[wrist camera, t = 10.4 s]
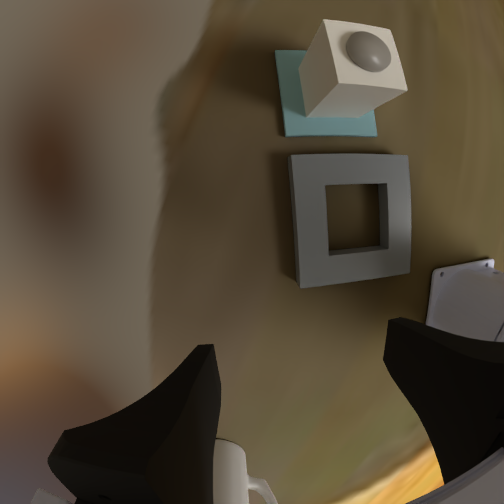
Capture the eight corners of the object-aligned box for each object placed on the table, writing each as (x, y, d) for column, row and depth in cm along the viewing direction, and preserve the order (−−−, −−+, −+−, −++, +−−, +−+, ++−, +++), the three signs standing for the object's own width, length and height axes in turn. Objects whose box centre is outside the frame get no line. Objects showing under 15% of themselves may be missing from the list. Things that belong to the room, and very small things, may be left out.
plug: (349, 70, 17) (393, 26, 10) (358, 118, 18) (411, 88, 10) (298, 68, 17) (325, 15, 10) (306, 117, 18) (341, 80, 10)
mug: (181, 459, 25) (167, 542, 13) (194, 430, 24) (180, 528, 12) (261, 475, 26) (268, 553, 14) (284, 448, 25) (300, 537, 13)
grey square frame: (397, 157, 19) (407, 155, 17) (400, 268, 21) (409, 273, 19) (287, 157, 19) (291, 155, 17) (296, 281, 21) (300, 288, 19)
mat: (360, 58, 17) (362, 55, 17) (374, 137, 19) (377, 136, 18) (274, 53, 17) (275, 50, 16) (285, 137, 18) (286, 135, 18)
